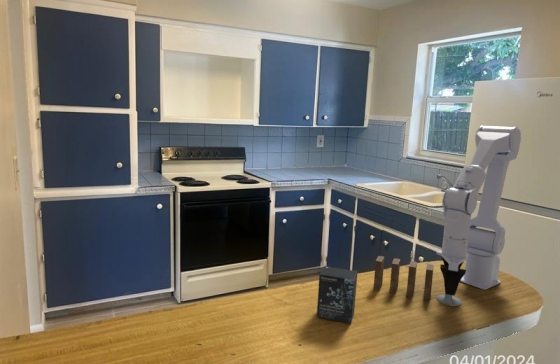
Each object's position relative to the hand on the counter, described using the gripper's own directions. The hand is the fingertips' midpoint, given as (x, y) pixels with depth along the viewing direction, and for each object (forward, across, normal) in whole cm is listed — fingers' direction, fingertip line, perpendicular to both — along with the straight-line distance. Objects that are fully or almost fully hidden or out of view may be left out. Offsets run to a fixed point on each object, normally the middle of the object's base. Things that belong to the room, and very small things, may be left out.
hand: (450, 288), depth 101 cm
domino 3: (+3, 0, -9) cm, 10 cm away
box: (+3, +21, -24) cm, 32 cm away
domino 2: (+3, 0, -14) cm, 14 cm away
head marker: (+3, 0, 0) cm, 3 cm away
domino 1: (+3, 0, -18) cm, 18 cm away
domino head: (+3, 0, 0) cm, 3 cm away
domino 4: (+3, 0, -5) cm, 6 cm away
